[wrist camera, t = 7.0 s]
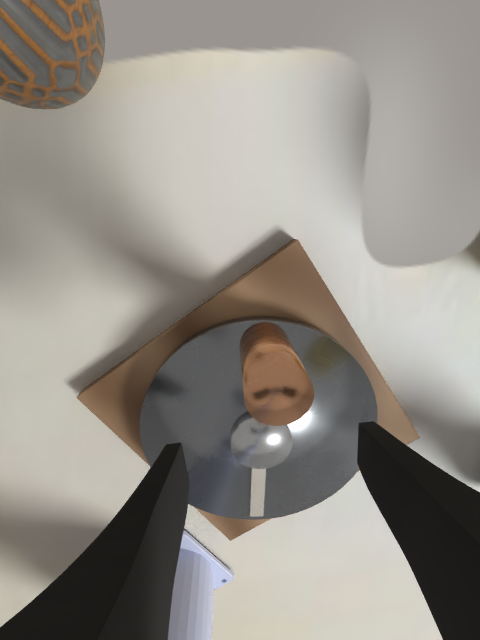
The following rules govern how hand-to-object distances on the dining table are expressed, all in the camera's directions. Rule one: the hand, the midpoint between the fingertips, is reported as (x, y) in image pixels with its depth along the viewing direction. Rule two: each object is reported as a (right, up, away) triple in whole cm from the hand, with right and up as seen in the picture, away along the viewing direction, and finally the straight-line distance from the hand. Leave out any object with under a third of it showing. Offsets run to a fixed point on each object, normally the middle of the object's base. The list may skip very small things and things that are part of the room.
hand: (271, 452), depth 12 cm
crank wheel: (0, -2, +9) cm, 9 cm away
